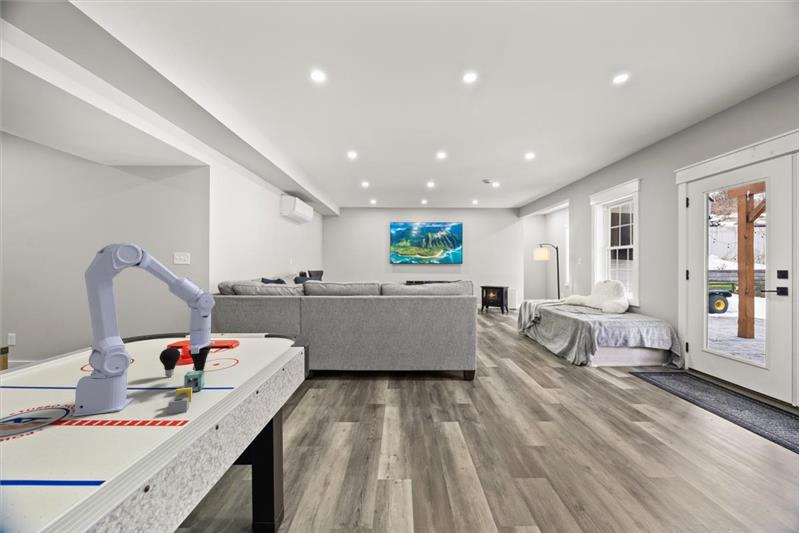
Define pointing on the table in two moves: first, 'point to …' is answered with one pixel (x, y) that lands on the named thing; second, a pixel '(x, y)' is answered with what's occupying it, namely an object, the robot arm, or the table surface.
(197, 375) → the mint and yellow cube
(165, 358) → the light bulb
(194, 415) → the table surface
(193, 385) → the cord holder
